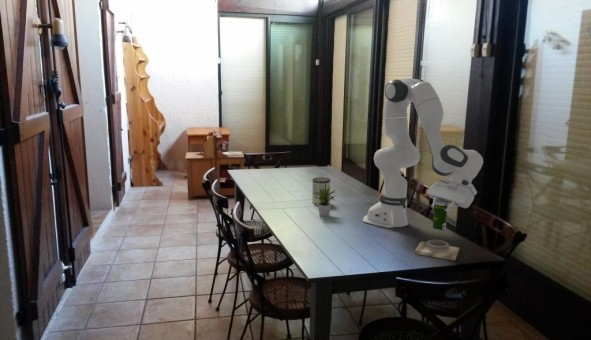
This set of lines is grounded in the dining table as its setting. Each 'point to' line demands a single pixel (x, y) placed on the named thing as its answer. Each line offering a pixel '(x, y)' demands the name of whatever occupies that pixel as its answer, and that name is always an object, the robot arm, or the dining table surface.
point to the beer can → (439, 215)
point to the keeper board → (437, 249)
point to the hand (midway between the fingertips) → (439, 209)
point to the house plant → (324, 201)
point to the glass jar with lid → (320, 183)
